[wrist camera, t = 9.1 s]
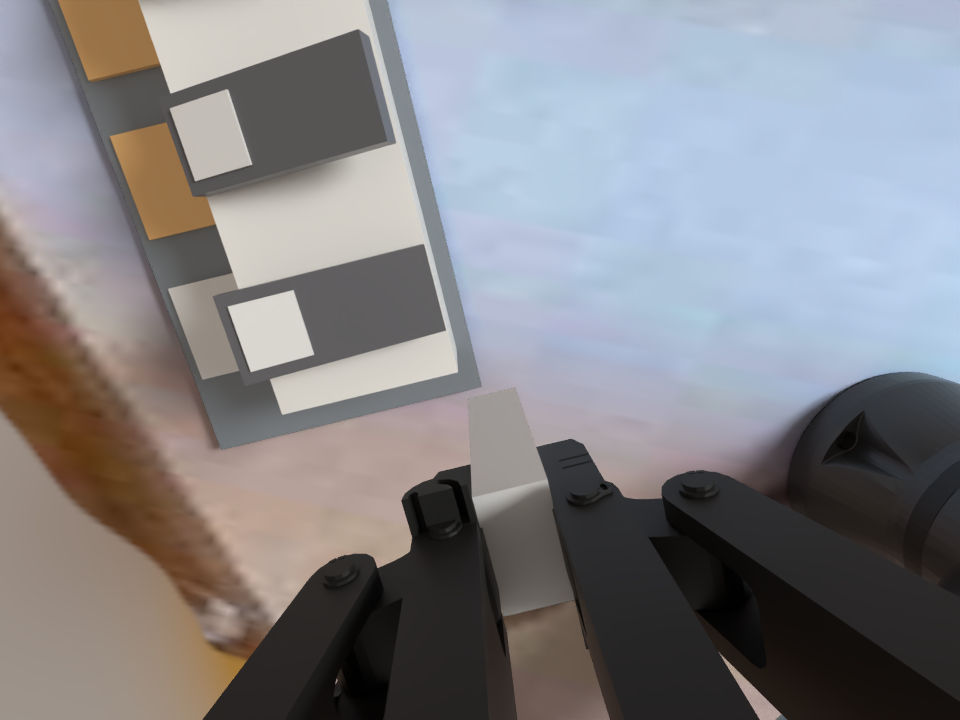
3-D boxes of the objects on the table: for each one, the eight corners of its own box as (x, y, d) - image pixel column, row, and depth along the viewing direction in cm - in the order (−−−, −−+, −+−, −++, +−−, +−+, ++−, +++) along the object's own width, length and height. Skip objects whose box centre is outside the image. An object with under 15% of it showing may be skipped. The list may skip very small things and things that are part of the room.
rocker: (421, 244, 28) (424, 243, 27) (442, 327, 29) (446, 330, 28) (218, 294, 26) (211, 296, 25) (249, 380, 27) (244, 386, 26)
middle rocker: (369, 36, 24) (356, 27, 22) (396, 143, 25) (386, 140, 23) (176, 102, 26) (155, 97, 25) (209, 196, 27) (190, 196, 26)
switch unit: (335, -210, 29) (294, -369, 21) (480, 382, 38) (489, 425, 30) (8, -130, 29) (-154, -260, 22) (226, 444, 38) (168, 502, 30)
